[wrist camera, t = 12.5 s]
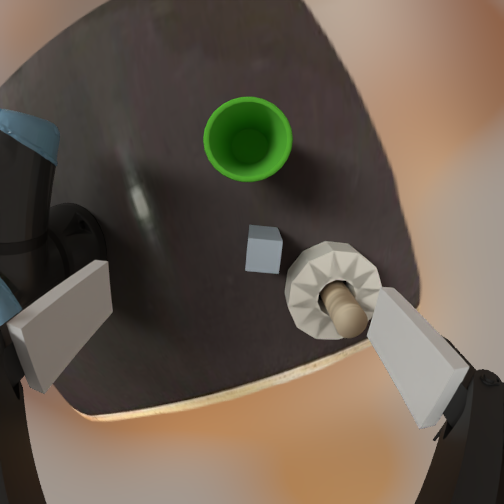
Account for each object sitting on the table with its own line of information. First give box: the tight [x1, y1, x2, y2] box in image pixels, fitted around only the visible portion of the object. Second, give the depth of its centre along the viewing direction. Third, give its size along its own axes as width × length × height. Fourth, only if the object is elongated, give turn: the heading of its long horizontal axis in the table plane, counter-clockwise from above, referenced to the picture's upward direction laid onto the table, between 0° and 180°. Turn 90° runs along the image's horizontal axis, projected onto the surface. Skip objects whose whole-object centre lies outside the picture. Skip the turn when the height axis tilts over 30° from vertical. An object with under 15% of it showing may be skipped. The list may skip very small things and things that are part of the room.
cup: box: [203, 97, 293, 182], centre depth 33 cm, size 9×9×11 cm
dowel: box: [319, 280, 368, 338], centre depth 38 cm, size 4×4×12 cm
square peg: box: [245, 225, 283, 274], centre depth 38 cm, size 4×4×8 cm
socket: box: [285, 241, 382, 340], centre depth 41 cm, size 14×14×5 cm
